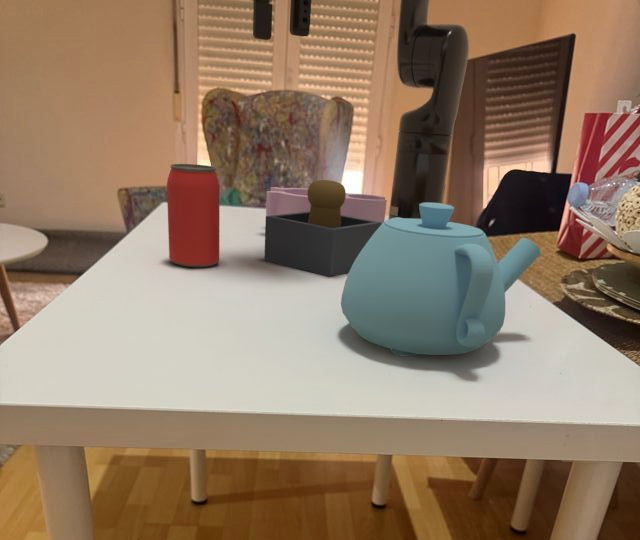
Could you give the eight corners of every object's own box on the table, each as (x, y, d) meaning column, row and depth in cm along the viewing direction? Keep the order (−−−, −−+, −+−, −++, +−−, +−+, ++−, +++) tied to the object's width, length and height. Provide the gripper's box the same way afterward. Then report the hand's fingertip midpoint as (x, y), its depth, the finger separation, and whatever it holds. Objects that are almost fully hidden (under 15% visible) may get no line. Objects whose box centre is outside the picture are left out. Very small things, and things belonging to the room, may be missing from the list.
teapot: (308, 312, 66) (317, 186, 61) (468, 307, 73) (489, 193, 68) (391, 384, 50) (414, 221, 44) (587, 368, 57) (627, 225, 51)
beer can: (193, 270, 79) (191, 169, 74) (158, 261, 83) (154, 163, 77) (229, 264, 84) (230, 168, 79) (196, 255, 88) (194, 163, 82)
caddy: (314, 251, 96) (317, 210, 94) (377, 265, 91) (382, 222, 88) (264, 260, 88) (265, 216, 85) (330, 276, 82) (333, 229, 79)
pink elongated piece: (379, 234, 115) (383, 194, 112) (383, 247, 104) (388, 203, 101) (270, 225, 115) (272, 185, 112) (263, 237, 103) (264, 193, 100)
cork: (342, 269, 87) (350, 184, 82) (299, 265, 87) (304, 181, 82) (342, 260, 92) (349, 180, 87) (301, 256, 92) (306, 177, 87)
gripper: (354, -150, 63) (340, 39, 70) (282, -118, 73) (276, 43, 80) (291, -173, 59) (283, 30, 66) (223, -136, 69) (223, 36, 76)
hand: (279, 37), depth 73 cm, fingers open, 8 cm apart
